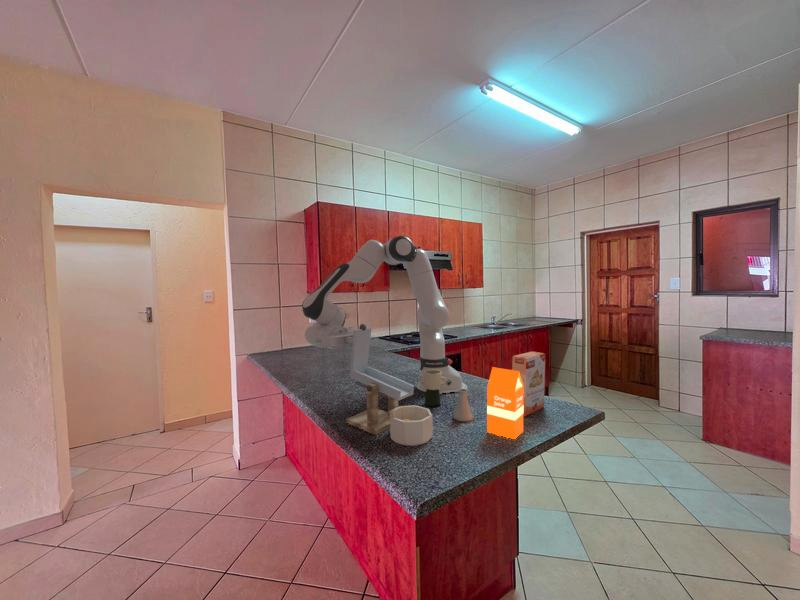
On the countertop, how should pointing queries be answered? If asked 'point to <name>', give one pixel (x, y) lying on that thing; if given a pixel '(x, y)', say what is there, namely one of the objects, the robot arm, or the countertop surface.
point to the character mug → (432, 385)
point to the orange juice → (505, 403)
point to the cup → (411, 425)
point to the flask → (462, 407)
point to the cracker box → (531, 379)
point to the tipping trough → (371, 375)
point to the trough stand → (373, 413)
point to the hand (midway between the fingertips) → (360, 340)
